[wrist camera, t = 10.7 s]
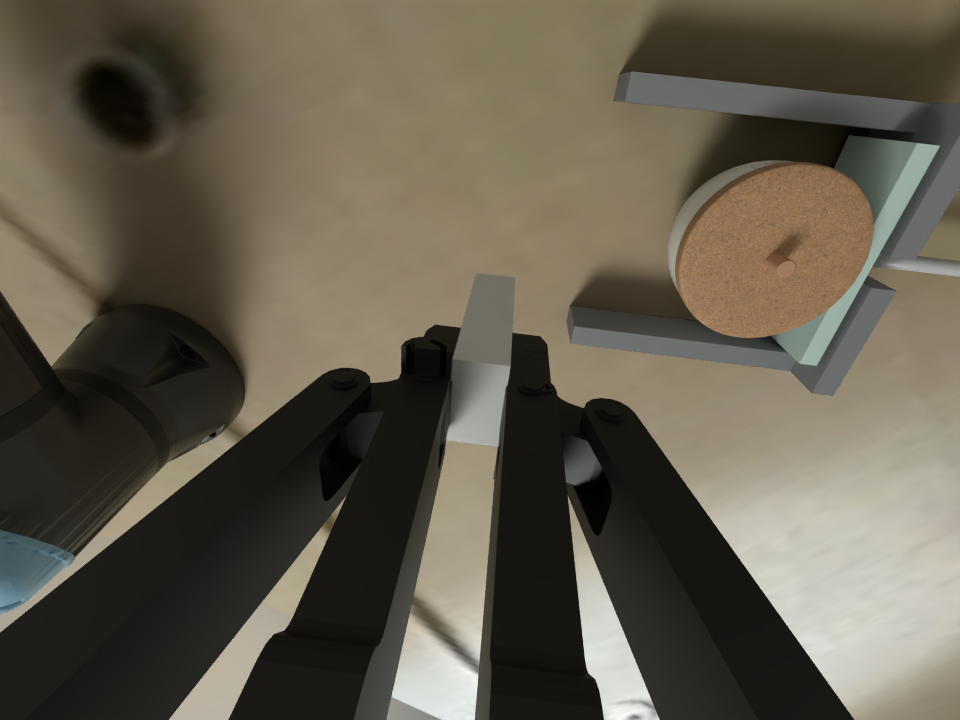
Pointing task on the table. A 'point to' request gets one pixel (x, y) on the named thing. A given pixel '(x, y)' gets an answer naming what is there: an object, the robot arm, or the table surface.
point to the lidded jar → (769, 246)
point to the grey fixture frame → (947, 172)
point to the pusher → (888, 187)
